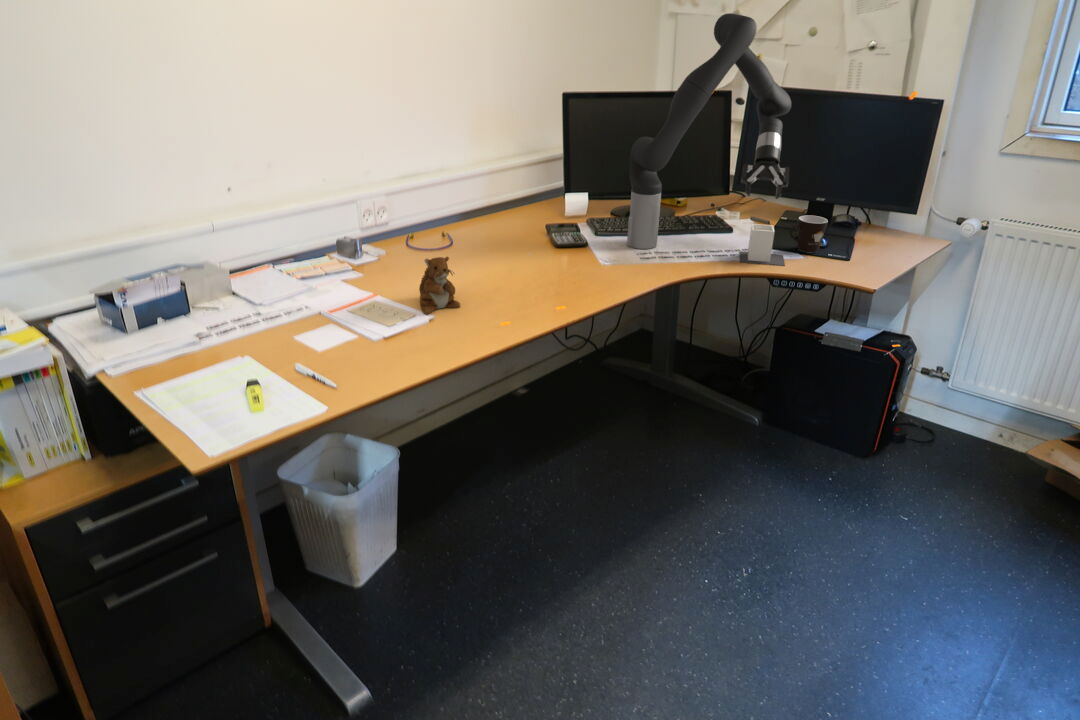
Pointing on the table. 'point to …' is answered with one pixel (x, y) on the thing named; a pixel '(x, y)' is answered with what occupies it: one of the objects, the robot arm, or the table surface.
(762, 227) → the canister
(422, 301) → the brown plush animal
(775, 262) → the mat
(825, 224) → the coffee mug
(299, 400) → the table surface
